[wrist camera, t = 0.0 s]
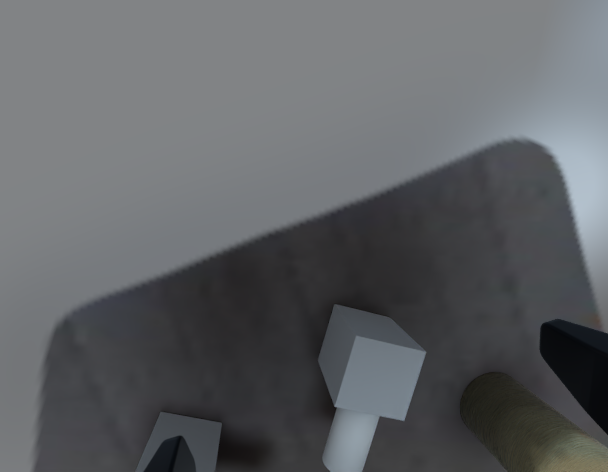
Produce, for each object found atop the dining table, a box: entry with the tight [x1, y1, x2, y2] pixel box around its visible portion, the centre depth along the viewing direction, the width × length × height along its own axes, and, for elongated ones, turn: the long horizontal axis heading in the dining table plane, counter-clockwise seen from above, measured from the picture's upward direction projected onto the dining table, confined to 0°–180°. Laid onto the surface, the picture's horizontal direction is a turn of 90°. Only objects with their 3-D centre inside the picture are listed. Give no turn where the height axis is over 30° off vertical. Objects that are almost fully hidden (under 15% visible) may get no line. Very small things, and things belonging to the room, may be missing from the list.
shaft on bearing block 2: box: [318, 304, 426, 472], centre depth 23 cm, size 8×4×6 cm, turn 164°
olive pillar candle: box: [460, 372, 608, 472], centre depth 21 cm, size 5×5×12 cm
